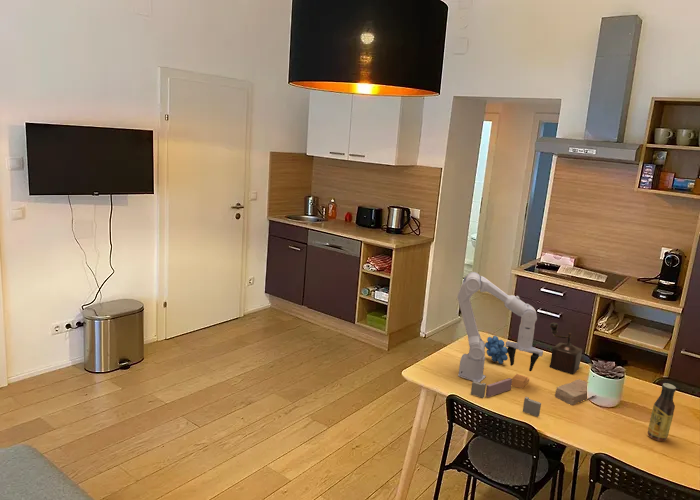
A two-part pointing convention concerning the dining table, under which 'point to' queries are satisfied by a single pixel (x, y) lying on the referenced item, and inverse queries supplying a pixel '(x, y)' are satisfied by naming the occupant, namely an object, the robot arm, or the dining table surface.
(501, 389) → the door
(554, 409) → the dining table surface
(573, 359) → the manual coffee grinder
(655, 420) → the sauce bottle
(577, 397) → the brick
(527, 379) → the orange brown block
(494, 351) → the grapes
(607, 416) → the dining table surface
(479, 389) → the wall frame
